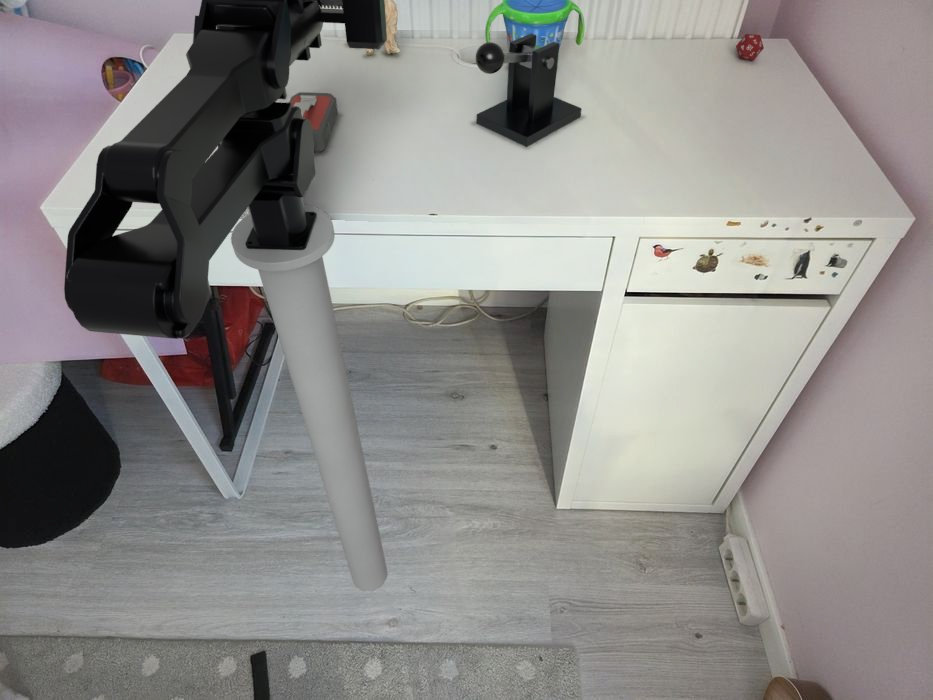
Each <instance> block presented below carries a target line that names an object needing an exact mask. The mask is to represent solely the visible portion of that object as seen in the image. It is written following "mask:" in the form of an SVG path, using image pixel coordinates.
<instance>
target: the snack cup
mask: <svg viewBox="0 0 933 700" xmlns="http://www.w3.org/2000/svg"><path fill="white" fill-rule="evenodd" d="M573 11H575V12H576V13H578V18H577V19H578V20H577V21H578V22H577V33H576V36H575V37H576V38H575V44H577V46H581V45H582V43H583V41H584V40H583V39H584V37H585V18H584V15H583V12H582V9H580V8H579V6H578V5H577V4H576V3H575V2H574V1H571V0H502V2H500V4H498V5H497V6H495V7H494V8H493V9H492V11H491V12H490V13H489V16H488V18H487V20H486V24H485V29H484V36H485V43H487V42H491V33H490V27H491V26H492V25H491V24H492V23H493V22H494V20H495V19H496V18H497V16H499V15H502V17H503V24H504V28H505V31H506V42H507V43H506V44H507V52H509V45H510V42H512V41H515V40H517V39H519V38H522V37H524V36H526V35H529V34H534V35H536V45H537V46H540V47H543V46H546V45H548V44H550V43H552V42H556V43H559V50H560V49H561V45H562V42H563V38H564V32H565V27H566V24H567V21H568V19H569V16H570V14H571V12H573Z"/></svg>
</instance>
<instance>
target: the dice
mask: <svg viewBox="0 0 933 700" xmlns="http://www.w3.org/2000/svg"><path fill="white" fill-rule="evenodd" d="M735 48H736V51H737V55H738V59H739V60H744V61H745V60H746V61H755V60H756V59H757V57H758V56H759V55H760V54H761V52H762V51H763V50H764V49H765V47H764V43H763V40H762V36H761V35H760V34H755V33H754V34H752V33H745V34H744V36H743V37H741V39H740V41H738V43H737V44H736V45H735Z"/></svg>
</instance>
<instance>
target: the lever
mask: <svg viewBox="0 0 933 700" xmlns="http://www.w3.org/2000/svg"><path fill="white" fill-rule="evenodd" d="M539 48H541V47H540V46H537V45H523V48H522V52H508V51H507V52H504V50H503V48H502V47H501V46H500V45H499V44H497V43H496V42H493V41H490V42H485V43H483V44H481V45H480V46H479V47H478V48H477V50H476V52H475V64H476V66H477V68H478V70H480V71H481V72H482V73H484V74H487V75H493V74H496V73H498V72H499V71H500V70H501V68H502V67H503V65H504V64H509V63H519V64H520V65H523V66H525V67H528V68H530V69H531V68H532V55H533V51H534V50H537V49H539Z"/></svg>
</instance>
